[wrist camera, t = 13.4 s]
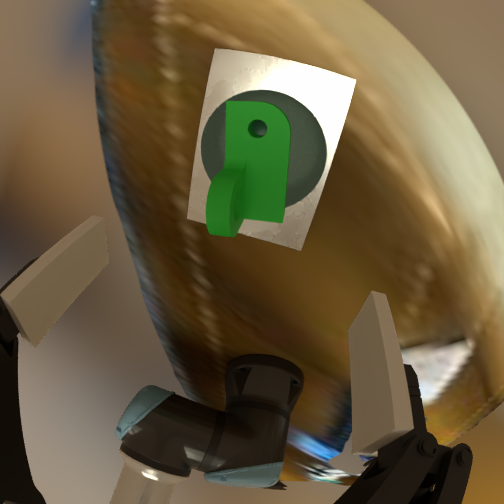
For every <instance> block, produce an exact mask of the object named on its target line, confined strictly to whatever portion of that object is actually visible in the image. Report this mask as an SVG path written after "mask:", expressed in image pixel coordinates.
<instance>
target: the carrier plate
mask: <svg viewBox="0 0 504 504" xmlns="http://www.w3.org/2000/svg"><path fill="white" fill-rule="evenodd" d="M355 83H356V80H355V79H352V78H349V77H346V76H343V75H340V74H337V73H334V72H331V71H328V70H324V69H321V68H318V67H314V66H310V65H307V64H303V63H299V62H295V61H291V60H286V59H282V58H277V57H272V56H267V55H261V54H255V53H249V52H243V51H235V50H227V49H217V48H215V51H214V55H213V60H212V64H211V69H210V74H209V78H208V83H207V88H206V93H205V98H204V104H203V109H202V115H201V120H200V126H199V132H198V139H197V145H196V152H195V158H194V165H193V173H192V180H191V188H190V197H189V206H188V215H187V219H190V220H194V221H197V222H201V223H205V224H206V201H207V195H208V191H209V187H210V184H211V182H212V180H213V178H214V177H215V175H217V174H218V173H219V172H220V171H221V170H222V169H223V167H224V163H225V143H226V101H260V102H268V103H271V104H274V105H276V106H277V107H279V108H280V109H281V110H282V111H283V112H284V113H285V114H286V115H287V117H288V119H289V121H290V124H291V144H290V157H289V169H288V181H287V193H286V204H285V215H284V220H283V223H275V222H266V221H258V220H249V219H244V221H243V223H242V225H241V227H240V229H239V231H238V233H240V234H244V235H247V236H251V237H254V238H258V239H261V240H265V241H268V242H272V243H275V244H279V245H282V246H286V247H289V248H293V249H296V250H299V251H301V249H302V246H303V243H304V241H305V238H306V235H307V233H308V230H309V227H310V224H311V221H312V219H313V216H314V213H315V210H316V207H317V204H318V201H319V199H320V196H321V193H322V190H323V187H324V184H325V181H326V178H327V175H328V172H329V169H330V166H331V163H332V160H333V156H334V153H335V150H336V147H337V144H338V141H339V137H340V134H341V131H342V128H343V124H344V121H345V118H346V114H347V111H348V107H349V104H350V101H351V97H352V94H353V90H354V86H355ZM252 130H253V132H254V133H255V134H257V135H265V134H266V133H267V125H266V124H265V122H263V121H262V120H258V119H257V120H254V121H253V123H252Z"/></svg>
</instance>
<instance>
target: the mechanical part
mask: <svg viewBox="0 0 504 504" xmlns="http://www.w3.org/2000/svg"><path fill="white" fill-rule="evenodd" d="M257 119H258V120H262V121H263V122H265V124H266V125H267V133H266V134H265V135H257V134H255V133H254V132H253V130H252V123H253V121H254V120H257ZM290 144H291V124H290V121H289V119H288V117H287V115H286V114H285V113H284V112H283V111H282V110H281V109H280V108H279V107H277V106H276V105H274V104H271V103H268V102H260V101H226V143H225V163H224V167H223V169H222V170H221V171H220V172H219V173H218V174H217V175H215V177H214V178H213V180H212V182H211V184H210V187H209V191H208V195H207V201H206V224H207V229H208V231H209V233H210V234H211V235H219V236H227V237H235V236H236V235H237V233H238V231H239V229H240V227H241V225H242V223H243V221H244V219H249V220H258V221H266V222H275V223H283V220H284V215H285V204H286V193H287V181H288V169H289V157H290Z"/></svg>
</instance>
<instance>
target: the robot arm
mask: <svg viewBox="0 0 504 504" xmlns="http://www.w3.org/2000/svg"><path fill="white" fill-rule="evenodd" d="M108 263H109V258H108V249H107V240H106V230H105V220H104V218H102V217H98V216H95V215H93V216H92V217H90V218H89V219H88V220H86V221H85V222H83V223H82V224H81V225H79V226H78V227H77V228H75V229H74V230H73V231H72V232H70V233H69V234H68V235H66V236H65V237H64V238H63V239H61V240H60V241H59V242H58V243H57V244H55V245H54V246H53V247H51V248H50V249H49V250H48V251H47V252H46V253H44V254H43V255H42V256H41V257H38V258H36V259H34V260H32V261H30V262H29V263H28V264H27V265H26V266H24V267H23V269H21V270H20V271H19V272H18V273H17V275H15V276H14V277H13V278H11V280H9V281H8V282H7V283H6V284H5V285H4V286H3V287H2V288H1V289H0V504H3V503H4V504H46V502H45V500H44V498H43V496H42V494H41V493H40V492H39V491H38V490H37V488H36V487H35V485H34V483H33V480H32V476H31V472H30V468H29V464H28V460H27V455H26V450H25V444H24V439H23V432H22V425H21V417H20V407H19V393H18V337H17V334H18V333H19V332H20V334H21V336H22V337H23V339H24V341H25V342H27V343H28V344H30V345H31V346H32V347H33V348H35V347H36V346H37V345H38V344H39V342H40V341H41V340H42V339H43V337H44V336H45V335H46V333H47V332H48V331H49V330H50V328H51V327H52V326H53V325H54V324H55V322H56V321H57V320H58V319H59V317H60V316H61V315H62V314H63V313H64V312H65V310H66V309H67V308H68V307H69V306H70V305H71V303H72V302H73V301H74V300H75V299H76V298H77V297H78V295H79V294H80V293H81V292H82V291H83V290H84V289H85V288H86V287H87V286H88V284H89V283H90V282H91V281H92V280H93V279H94V278H95V277H96V276H97V275H98V274H99V273H100V272H101V271H102V270H103V269H104V267H106V265H107V264H108ZM348 341H349V354H350V369H351V390H352V455H370V454H372V453H373V452H375V451H377V450H378V457H376V458H374V459H372V460H370V461H368V462H366V463H365V464H364V465H363V466H367V465H369V464H370V465H369V466H368V467H367V468H366V470H365V471H364V472H363V473H362V474H361V475H360V477H359V478H358V479H357V480H356V481H355V482H354V483H353V484H352V485H351V486H350V488H349V489H348V490H347V491H346V492H345V493H344V494H343V495H342V496H341V497H340V498H339V499H338V500H337V501H336V502H335V503H334V504H461V503H462V500H463V497H464V493H465V490H466V486H467V483H468V479H469V474H470V470H471V465H472V459H473V455H472V451H471V449H470V447H469V446H468V445H467V444H464V443H461V444H458V445H456V446H455V447H453V448H450V447H446V446H443V445H439V444H438V443H437V440H436V438H435V437H434V436H433V435H432V434H431V433H429V432H427V429H426V423H425V416H424V410H423V404H422V398H420V396H421V393H420V389H419V383H418V378H417V375H416V373H415V371H414V369H413V368H412V366H411V365H407V364H403V360H402V355H401V351H400V346H399V342H398V338H397V334H396V330H395V326H394V322H393V318H392V315H391V311H390V307H389V304H388V301H387V297H386V294H383V293H379V292H375V291H371V293H370V294H369V296H368V298H367V300H366V301H365V303H364V305H363V306H362V308H361V310H360V311H359V313H358V315H357V316H356V318H355V320H354V321H353V323H352V324H351V326H350V327H349V329H348ZM303 382H304V377H303V374H302V372H301V371H300V370H299V369H298V368H297V367H296V366H295V365H293V364H292V363H290V362H288V361H285V360H283V359H280V358H277V357H272V356H267V355H246V356H241V357H238V358H236V359H234V360H232V361H231V362H230V363H229V364H228V367H227V370H226V373H225V392H226V407H225V410H224V412H222V411H219V410H217V409H214V408H211V407H208V406H205V405H203V404H200V403H197V402H195V401H192V400H189V399H187V398H184V397H182V396H179V395H176V394H175V392H173V391H172V392H170V391H167V390H165V389H162V388H159V387H157V386H153V385H149V386H146V387H144V388H143V389H141V390H140V391H139V392H138V393H137V394H136V396H135V397H134V398H133V399H132V401H131V402H130V404H129V405H128V407H127V408H126V410H125V411H124V413H123V415H122V417H121V419H120V420H119V423H118V426H117V429H116V431H115V434H116V436H117V437H118V438H119V440H123V442H122V445H121V447H120V453H121V455H122V456H123V458H124V461H125V464H124V466H123V469H122V471H121V474H120V477H119V480H118V482H117V485H116V488H115V490H114V493H113V496H112V499H111V501H110V504H168V503H169V501H170V498H171V495H172V493H173V490H174V487H175V485H176V483H177V482H179V481H182V480H184V479H187V478H188V477H189V475H190V472H191V470H192V469H195V470H199V471H202V472H205V474H204V477H205V480H206V481H207V482H211V483H215V484H220V485H226V486H237V487H269V486H272V485H274V484H276V483H277V482H278V480H279V477H280V473H281V470H282V466H283V465H284V462H283V461H284V455H285V448H286V441H287V434H288V427H289V419H290V414H291V412H292V410H293V408H294V406H295V404H296V402H297V400H298V398H299V396H300V394H301V392H302V390H303ZM434 485H435V487H434ZM433 487H434V490H433Z"/></svg>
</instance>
